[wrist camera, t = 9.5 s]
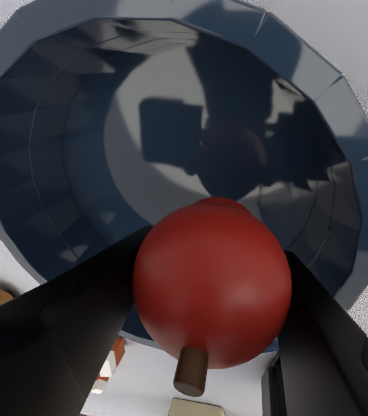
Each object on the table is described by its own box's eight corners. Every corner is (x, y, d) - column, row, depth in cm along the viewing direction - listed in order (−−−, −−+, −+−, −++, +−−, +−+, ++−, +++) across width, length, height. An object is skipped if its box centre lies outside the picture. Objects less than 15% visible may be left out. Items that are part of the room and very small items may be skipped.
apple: (297, 185, 8) (372, 372, 3) (264, 280, 11) (277, 459, 6) (162, 167, 9) (57, 290, 4) (163, 258, 12) (101, 398, 7)
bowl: (408, 20, 7) (608, -35, 3) (281, 302, 16) (293, 388, 11) (20, 15, 10) (-139, -20, 6) (85, 258, 18) (37, 314, 14)
